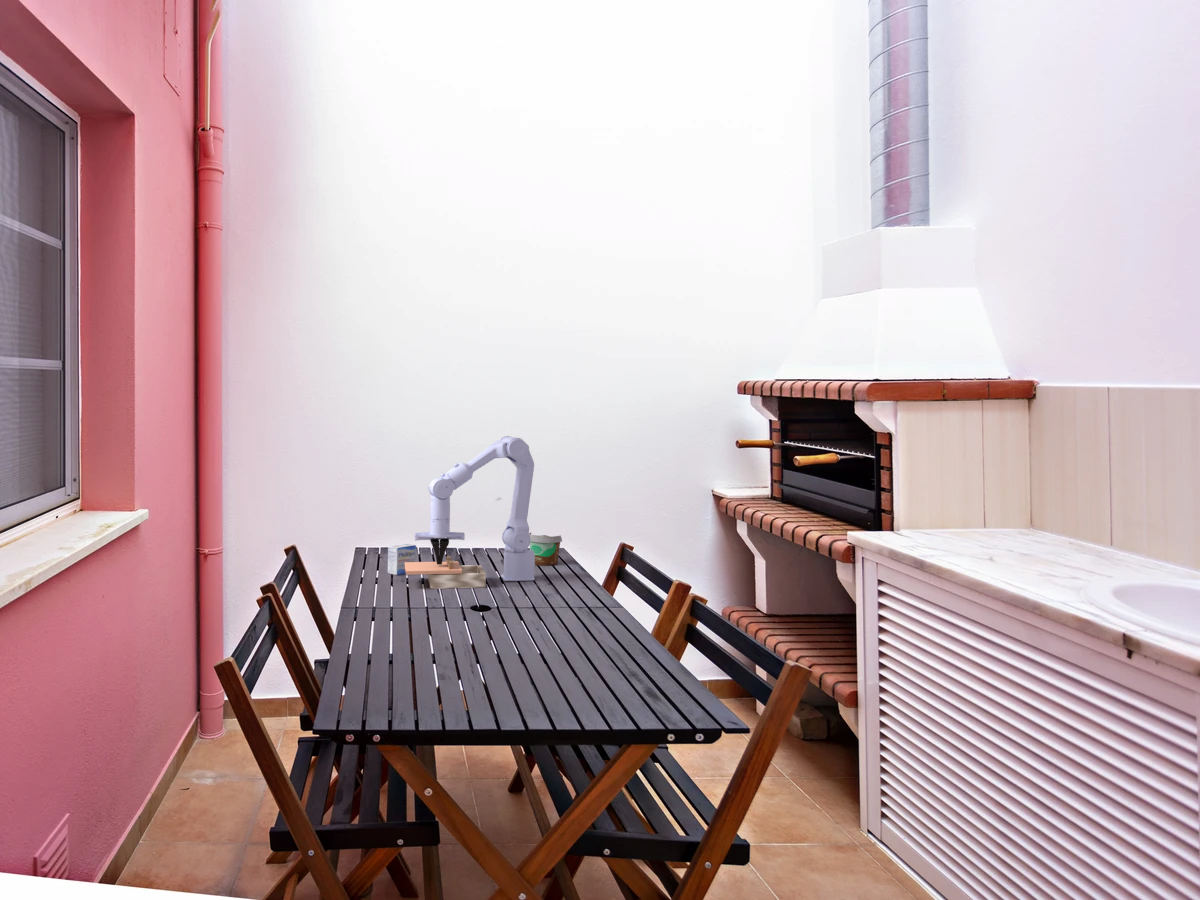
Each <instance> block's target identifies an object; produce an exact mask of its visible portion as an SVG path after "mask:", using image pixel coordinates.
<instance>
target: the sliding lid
mask: <svg viewBox="0 0 1200 900" xmlns="http://www.w3.org/2000/svg"><path fill="white" fill-rule="evenodd" d="M460 566H461V565H460V563H459V561H454V560H453V558H452V556H451V555H446V561H442V564H437V561H416V562H405V571H406V574H405V575H406V576H407V575H408V576H410V575H428V574H462V569H461V567H460Z"/></svg>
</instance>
